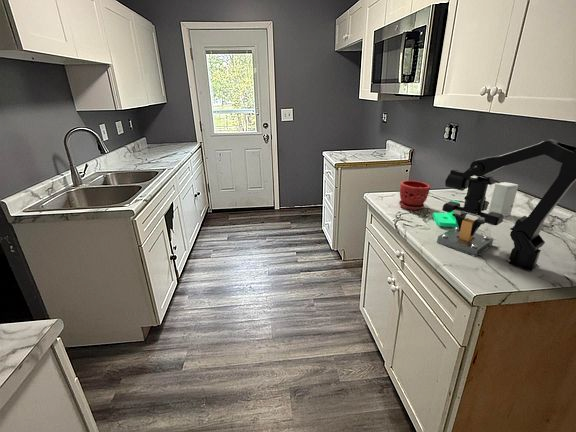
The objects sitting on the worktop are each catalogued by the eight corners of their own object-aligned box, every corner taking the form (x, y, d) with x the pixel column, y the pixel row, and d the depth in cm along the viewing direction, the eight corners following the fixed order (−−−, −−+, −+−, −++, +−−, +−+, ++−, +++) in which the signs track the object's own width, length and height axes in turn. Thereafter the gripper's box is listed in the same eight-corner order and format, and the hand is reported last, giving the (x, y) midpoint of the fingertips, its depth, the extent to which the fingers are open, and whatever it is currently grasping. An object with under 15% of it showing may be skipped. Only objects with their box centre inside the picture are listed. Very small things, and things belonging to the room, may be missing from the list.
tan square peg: (471, 240, 117) (476, 220, 114) (467, 243, 115) (472, 223, 112) (462, 237, 119) (466, 217, 116) (458, 239, 117) (462, 220, 114)
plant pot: (417, 213, 146) (421, 189, 141) (392, 206, 155) (395, 183, 151) (431, 207, 154) (435, 184, 149) (407, 200, 163) (410, 178, 158)
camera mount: (431, 217, 142) (435, 196, 138) (449, 218, 141) (453, 197, 137) (439, 228, 131) (443, 205, 127) (458, 229, 130) (463, 206, 126)
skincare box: (499, 218, 141) (508, 186, 135) (486, 214, 146) (494, 183, 140) (510, 215, 144) (519, 184, 139) (497, 211, 149) (505, 180, 144)
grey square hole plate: (491, 244, 117) (494, 237, 116) (476, 256, 109) (478, 248, 107) (453, 232, 127) (455, 225, 126) (436, 242, 119) (438, 234, 117)
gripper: (514, 195, 108) (502, 236, 114) (459, 184, 122) (451, 221, 128) (502, 202, 102) (490, 245, 108) (445, 189, 115) (437, 228, 121)
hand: (466, 234), depth 116 cm, fingers closed on tan square peg, 3 cm apart
